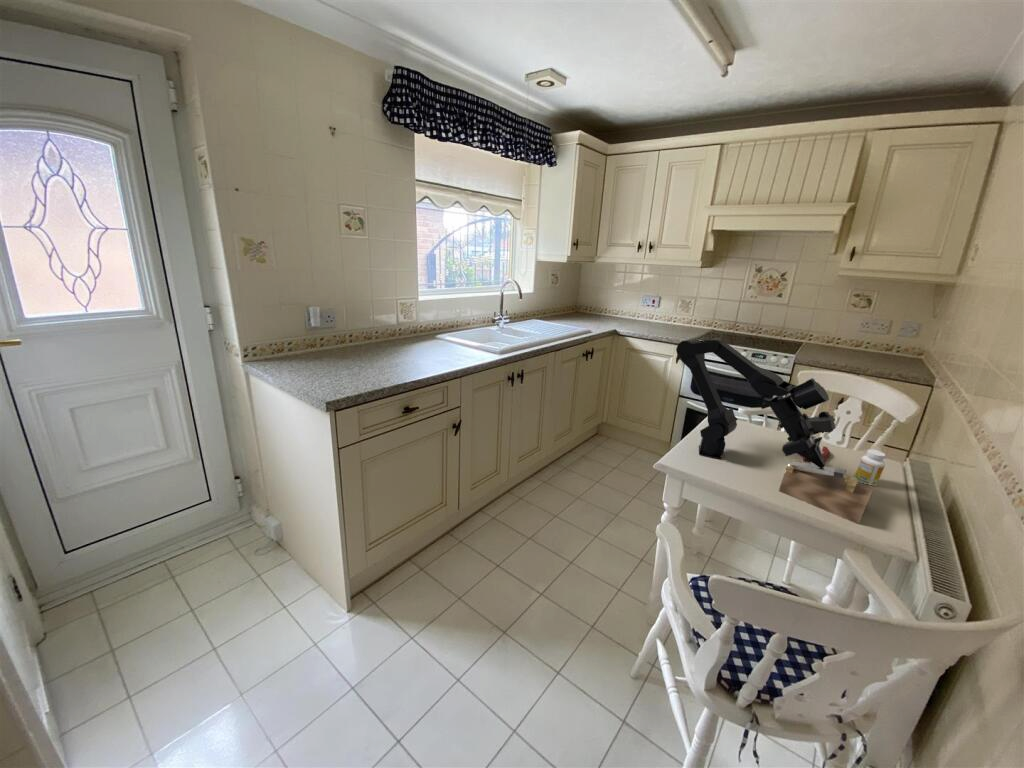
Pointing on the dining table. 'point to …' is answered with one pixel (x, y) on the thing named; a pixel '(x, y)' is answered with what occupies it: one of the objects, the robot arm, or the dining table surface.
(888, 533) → the dining table surface
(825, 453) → the pliers
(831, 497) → the storage box
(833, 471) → the latch lever
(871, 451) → the supplement bottle
